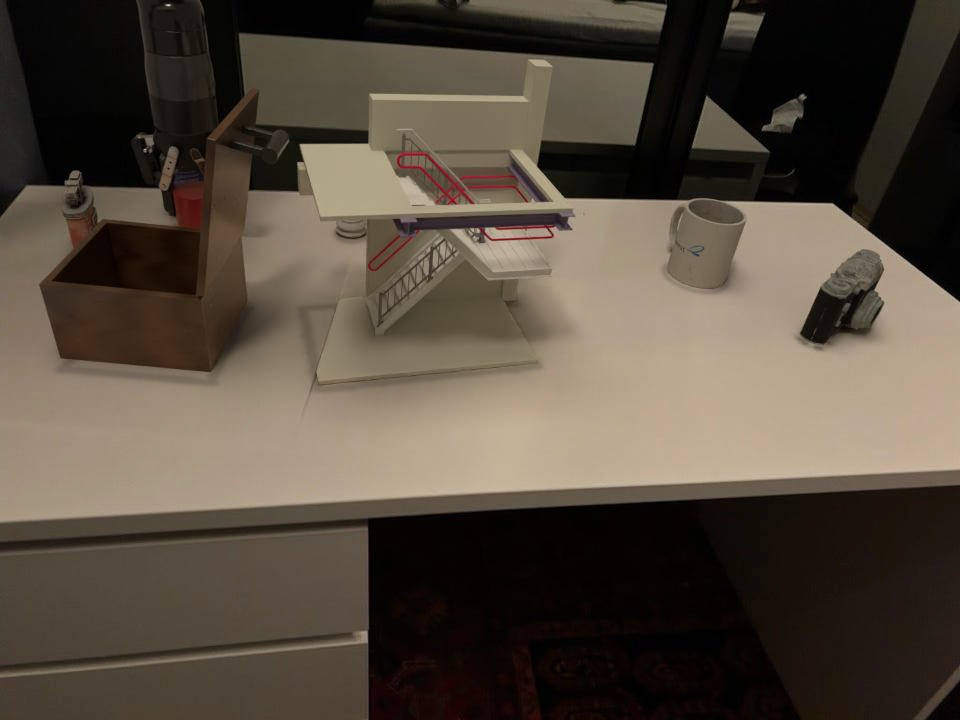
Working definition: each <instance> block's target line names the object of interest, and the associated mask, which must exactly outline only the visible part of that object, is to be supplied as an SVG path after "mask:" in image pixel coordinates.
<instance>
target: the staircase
mask: <svg viewBox="0 0 960 720" xmlns="http://www.w3.org/2000/svg"><path fill="white" fill-rule="evenodd" d="M553 69H554V66H553V65H552V64H551V63H549V62H548V61H547V60H546V59H530V58H529V59H527V65H526V71H525V78H524V85H523V93H522V95H487V94H485V95H483V94H482V95H476V94H475V95H474V94H472V95H471V94H423V93H421V94H420V93H419V94H416V93H415V94H414V93H412V94H411V93H408V94H407V93H369V95H368V140H367V141H368V142H367V143H299V151H300V155H301V158H302V161H298V162H296V167H297V188H298V189H297V190H298V194H299V196H301V197H302V196H303V197H304V196H313V199H314V203H315V207H316V210H317V213H318V217H319V219H320V220H319V221H320V222H336V221H342V220H365V221H366V243H365V244H366V245H365V246H366V249H365V251H366V252H365V255H366V256H365V260H366V261H365V296H360V297H359V296H358V297H343V298H338V299H337V302H336V306H335V309H334V312H333V315H332V318H331V321H330V324H329V327H328V331H327V334H326V336H325V337H326V338H325V340H324V343H323V347H322V350H321V353H320V356H319V358H318V362H317V365H316V368H315V374H316V379H317V384H318V385H319V386H320V385H330V384H331V385H332V384H341V383H349V382H350V383H351V382H361V381H370V380H379V379H380V380H381V379H389V378H391V379H392V378H401V377H410V376H421V375H430V374H438V373H451V372H461V371H470V370H480V369H491V368H501V367H511V366H519V365H521V366H522V365H532V364H538V360H539V359H538V357H537V356H536V354H535V352H534V350H533V348H532V347H531V345H530V344H529V342H528V340H527V338H526V337H525V335H524V333H523V332H522V330H521V328H520V327H519V325H518V323H517V321H516V320H515V317H513V315H512V313H511V311H510V310H509V307H508V306H507V304H506V302H511V301H512V302H513V301H516V300H517V293H518V288H519V282H520V280H521V279H522V280H523V279H538V278H552V277H553V276H552V271H553V270H554V267H553V266H552V265H551V263H550V262H549V261H548V259H547V258H546V256H545V255H544V254H543V252H542V250H540V248H539V247H538V246H537V243H535V241H534V240H547V239H553V238H554V237H555V234H554V233H553V231H552V230H551V229H554V228H556V229H557V230H558V231H559V232H563V231H574V230H573V227H572V226H571V225H570V224H569V218H575V217H576V214H575V213H574V207H573V206H572V205H571V203H569V201H568V200H567V199H566V198H565V196H564V195H562V194H561V192H560V191H559V190H558V189H557V188H556V187H555V185H554V184H553V183H552V182H551V181H550V180H549V179H548V177H547V176H546V175H545V174H544V173H543V172H542V171H541V170H540V168H539V167H538V164H539V158H540V157H539V156H540V150H541V145H542V137H543V131H544V125H545V119H546V113H547V106H548V101H549V96H550V95H549V94H550V88H551V82H552V76H553ZM532 200H533V201H534V202H532ZM535 229H546V230H547V231H548V232H549V234H550V235H549V236H546V235H545V236H530V234H529V233H528V232H527V231H528V230H535Z"/></svg>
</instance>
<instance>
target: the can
mask: <svg viewBox="0 0 960 720" xmlns="http://www.w3.org/2000/svg"><path fill="white" fill-rule="evenodd" d="M203 188H204V182H202V181H190V182H184V183H181V184H178V185H176V186H175V187H174V188H173V190H172V193H173V199H174V206H175V213H176V217H175V218H176V225H177V227H187V228H197V229H201V217H202V202H203Z"/></svg>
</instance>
